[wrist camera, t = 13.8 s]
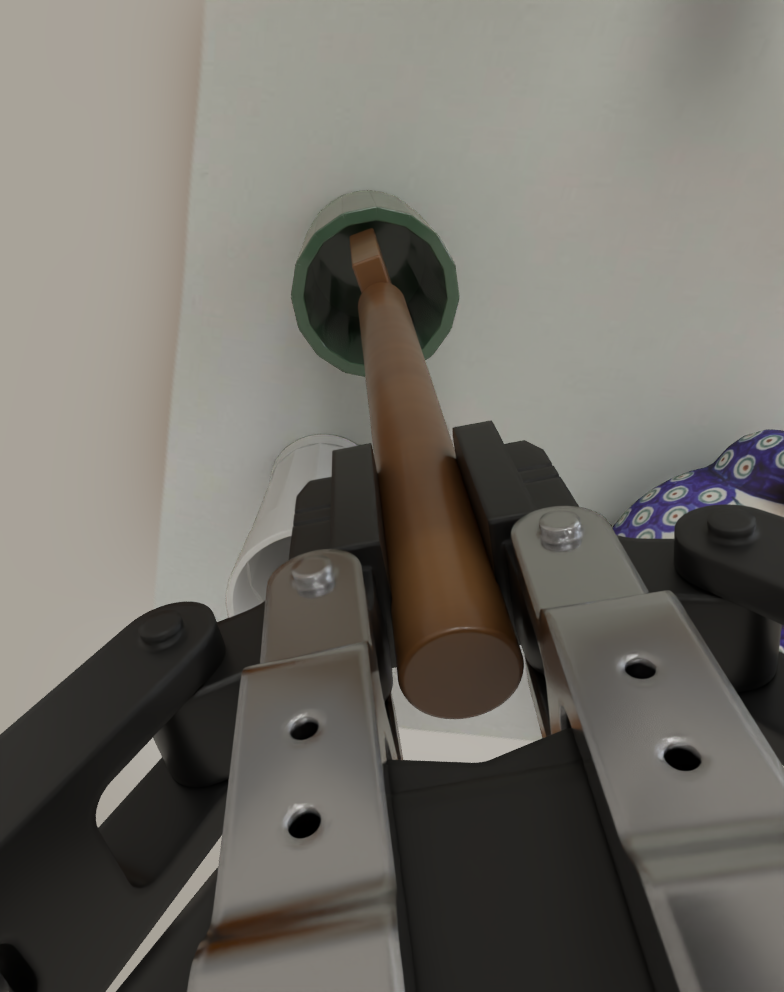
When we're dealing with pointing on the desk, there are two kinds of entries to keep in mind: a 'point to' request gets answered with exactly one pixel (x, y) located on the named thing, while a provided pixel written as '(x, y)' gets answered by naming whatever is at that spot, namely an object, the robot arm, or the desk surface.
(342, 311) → the crock
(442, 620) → the wooden paddle stick
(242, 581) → the cup
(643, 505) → the teapot
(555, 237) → the desk surface
